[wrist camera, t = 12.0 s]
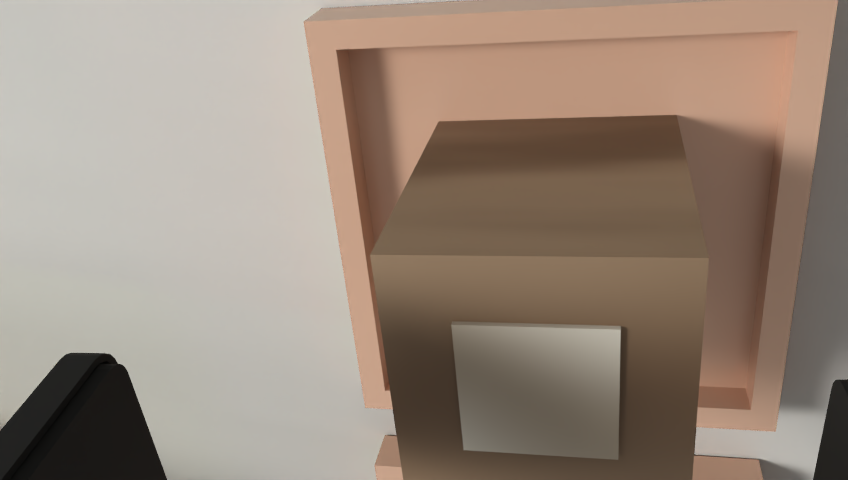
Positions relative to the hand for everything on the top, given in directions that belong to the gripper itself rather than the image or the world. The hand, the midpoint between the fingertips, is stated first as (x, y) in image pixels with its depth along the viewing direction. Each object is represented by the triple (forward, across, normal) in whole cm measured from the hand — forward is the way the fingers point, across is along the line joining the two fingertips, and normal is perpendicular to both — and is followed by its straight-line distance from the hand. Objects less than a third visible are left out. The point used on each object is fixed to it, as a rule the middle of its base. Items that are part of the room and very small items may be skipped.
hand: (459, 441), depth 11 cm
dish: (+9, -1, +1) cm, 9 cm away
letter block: (+8, -1, +1) cm, 8 cm away
